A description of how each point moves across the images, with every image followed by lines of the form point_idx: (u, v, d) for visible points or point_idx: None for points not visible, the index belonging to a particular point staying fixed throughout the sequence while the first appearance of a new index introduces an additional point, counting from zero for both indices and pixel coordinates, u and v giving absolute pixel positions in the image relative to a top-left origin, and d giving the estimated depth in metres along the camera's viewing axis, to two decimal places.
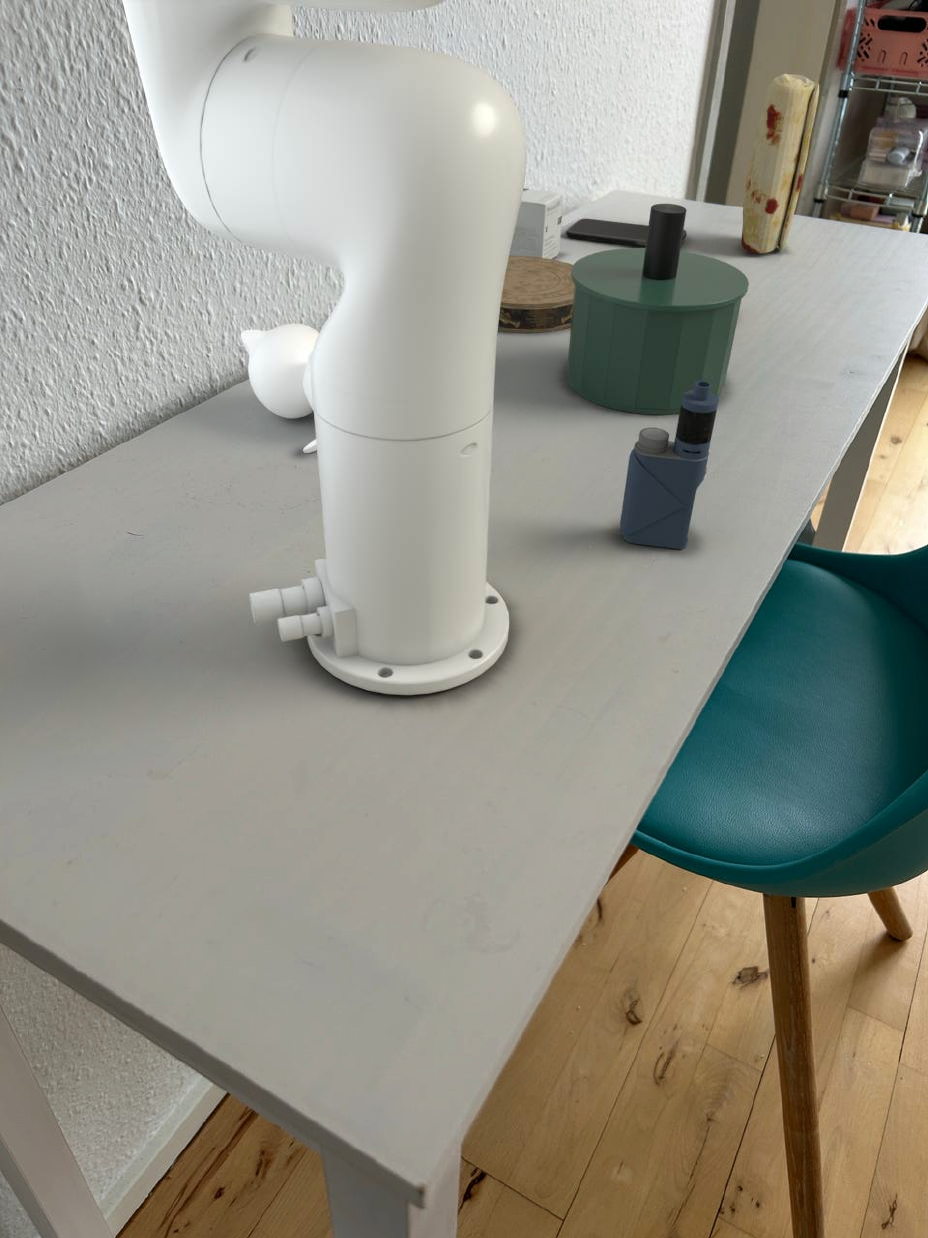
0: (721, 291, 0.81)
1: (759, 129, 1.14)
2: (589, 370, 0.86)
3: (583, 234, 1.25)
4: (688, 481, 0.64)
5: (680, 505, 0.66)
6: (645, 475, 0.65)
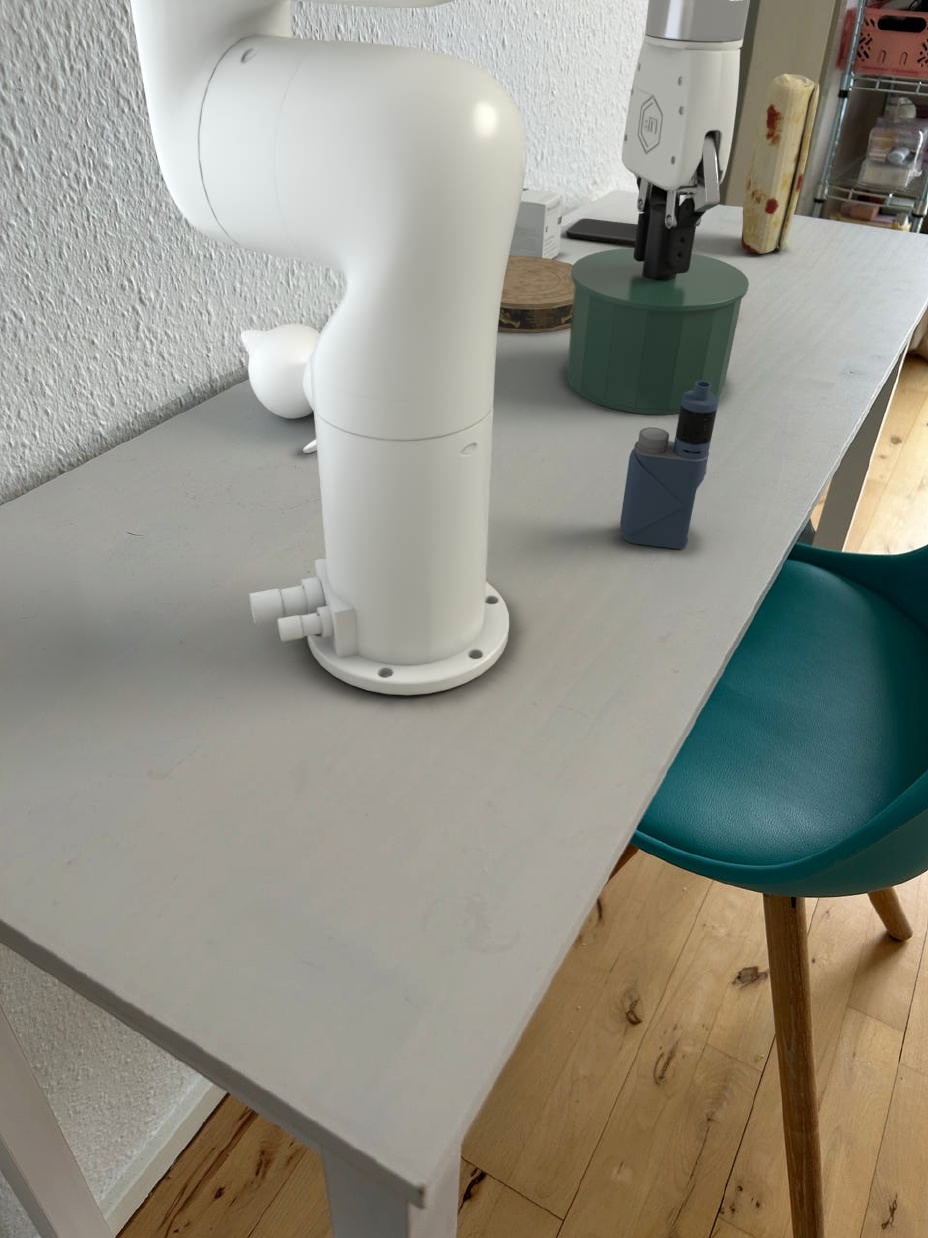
0: (721, 291, 0.81)
1: (759, 129, 1.14)
2: (589, 370, 0.86)
3: (583, 234, 1.25)
4: (688, 481, 0.64)
5: (680, 505, 0.66)
6: (645, 475, 0.65)
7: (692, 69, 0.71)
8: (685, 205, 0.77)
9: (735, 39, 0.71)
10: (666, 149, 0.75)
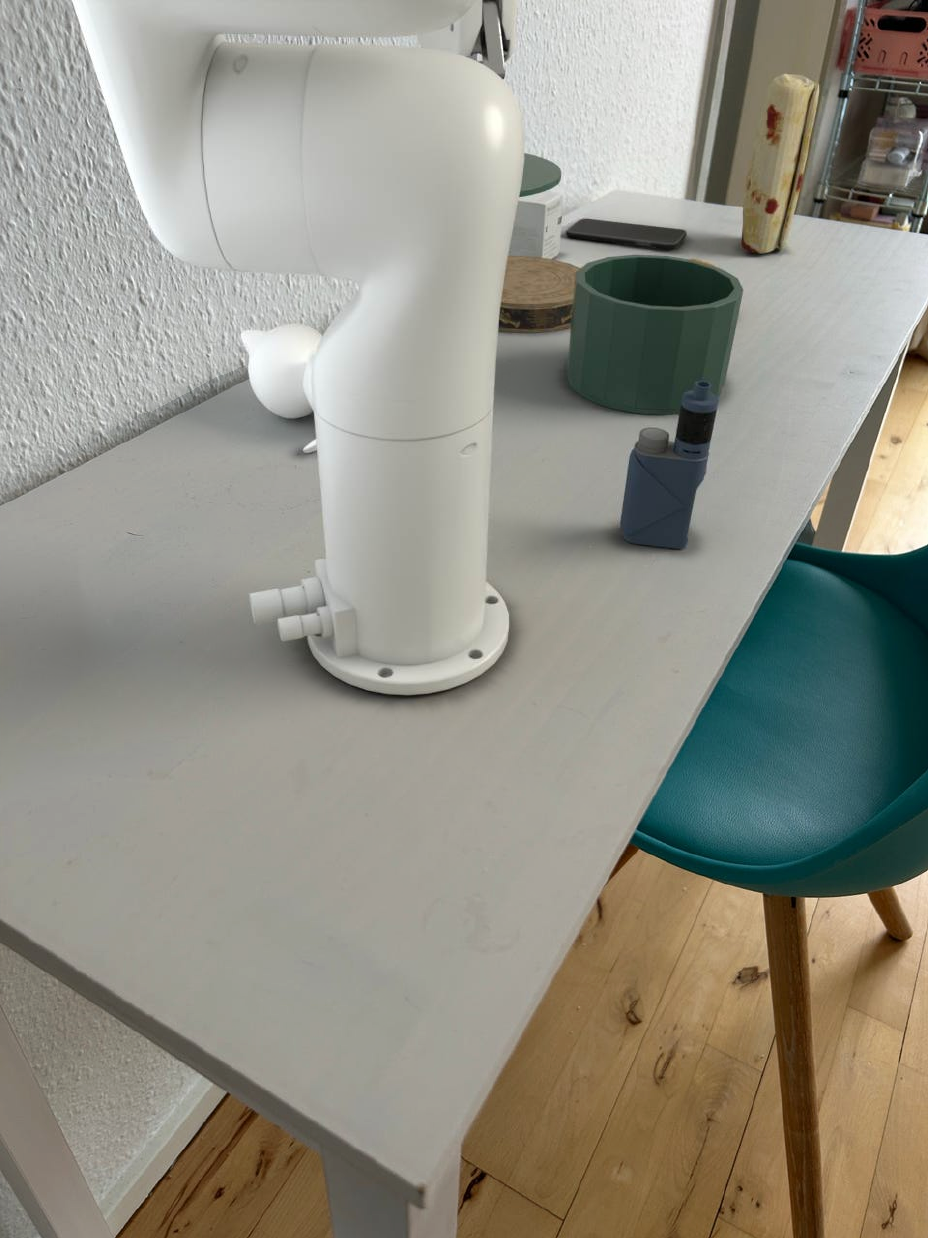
0: (525, 182, 0.74)
1: (759, 129, 1.14)
2: (589, 370, 0.86)
3: (583, 234, 1.25)
4: (688, 481, 0.64)
5: (680, 505, 0.66)
6: (645, 475, 0.65)
7: None
8: None
9: None
10: None
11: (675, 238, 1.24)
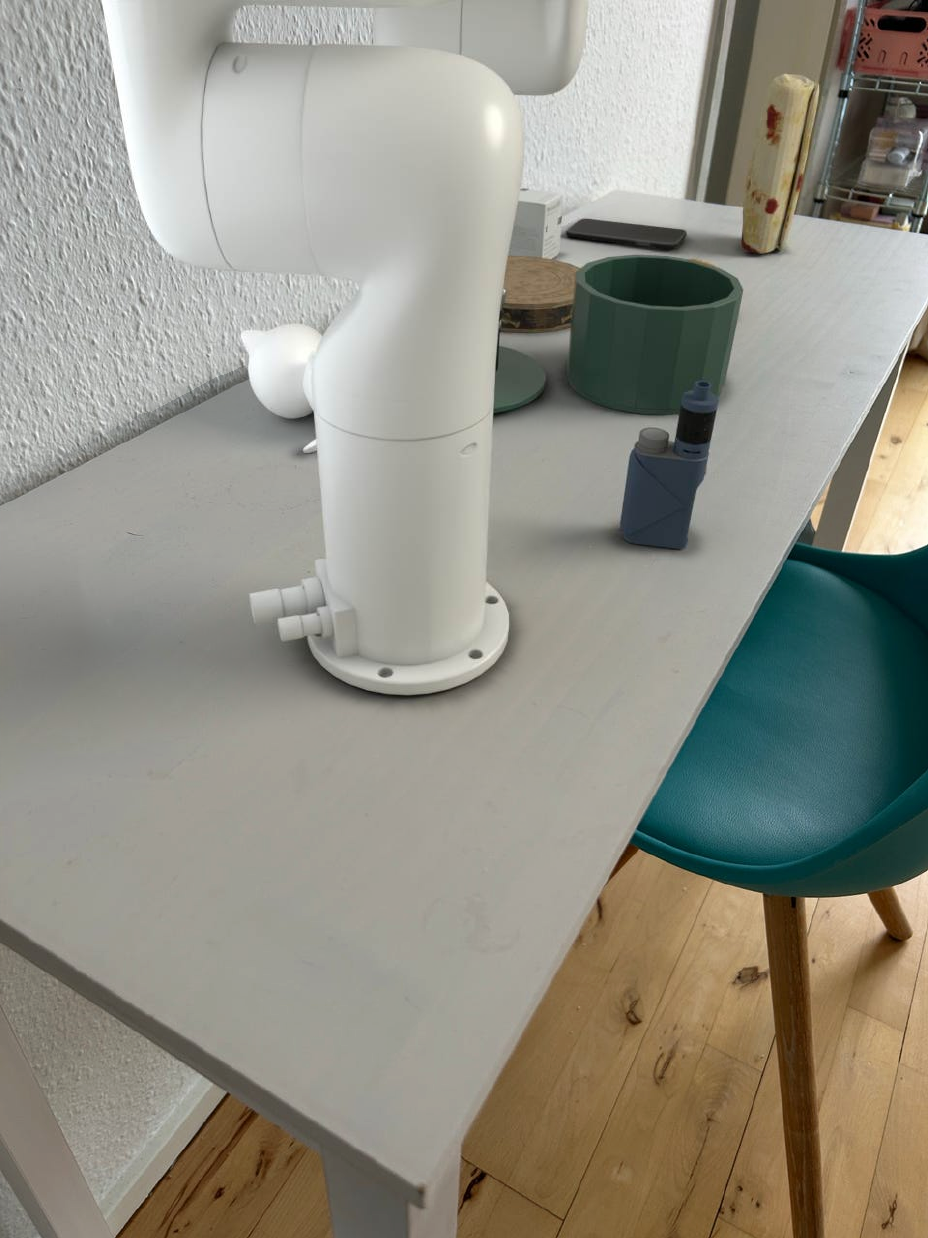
0: (514, 393, 0.85)
1: (759, 129, 1.14)
2: (589, 370, 0.86)
3: (583, 234, 1.25)
4: (688, 481, 0.64)
5: (680, 505, 0.66)
6: (645, 475, 0.65)
7: None
8: None
9: None
10: None
11: (675, 238, 1.24)
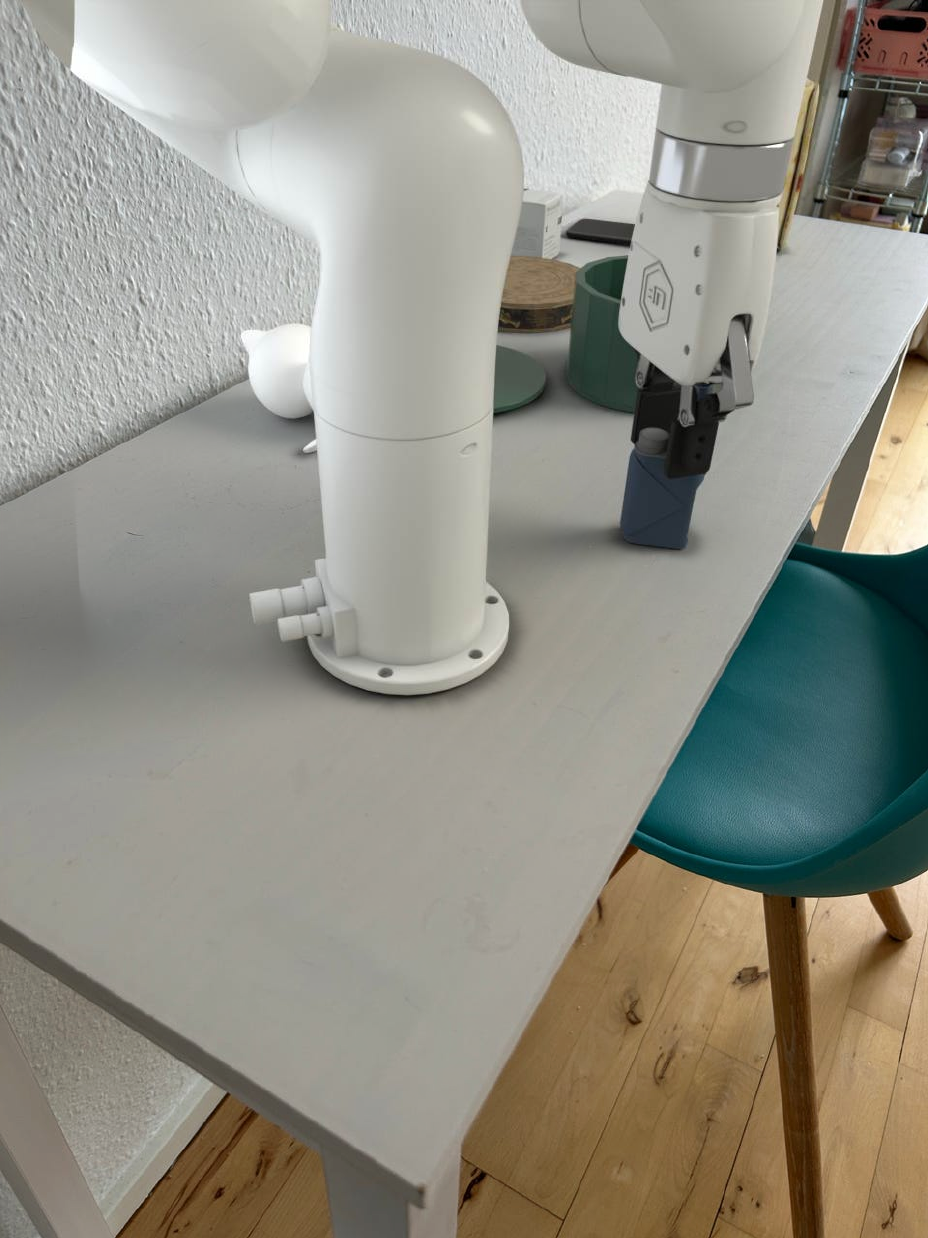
0: (514, 393, 0.85)
1: None
2: (589, 370, 0.86)
3: (583, 234, 1.25)
4: (688, 481, 0.64)
5: (680, 505, 0.66)
6: (645, 475, 0.65)
7: (714, 239, 0.52)
8: (707, 403, 0.57)
9: (773, 196, 0.52)
10: (678, 333, 0.56)
11: None
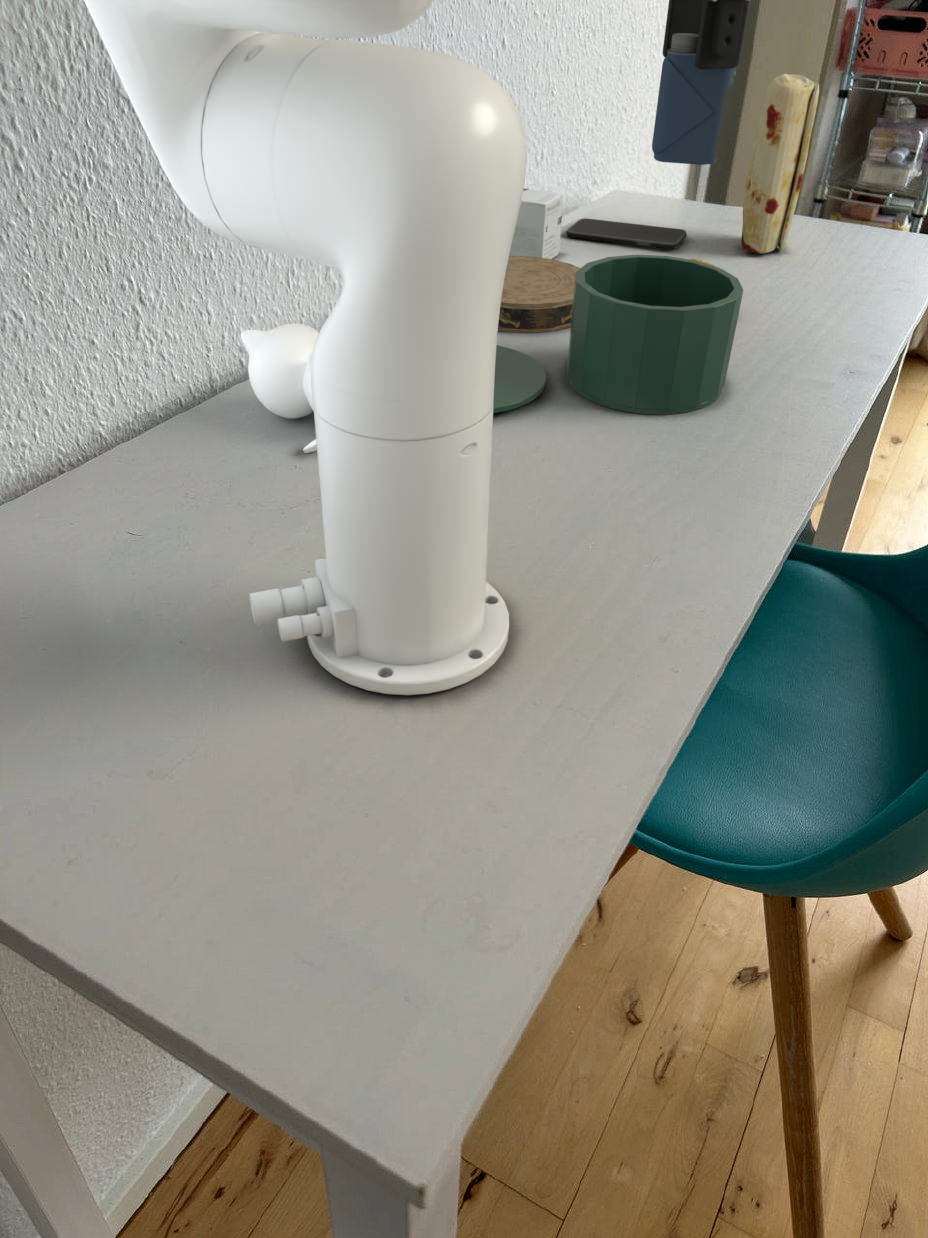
0: (514, 393, 0.85)
1: (759, 129, 1.14)
2: (589, 370, 0.86)
3: (583, 234, 1.25)
4: (718, 81, 0.68)
5: (710, 111, 0.69)
6: (677, 77, 0.68)
7: None
8: None
9: None
10: None
11: (675, 238, 1.24)
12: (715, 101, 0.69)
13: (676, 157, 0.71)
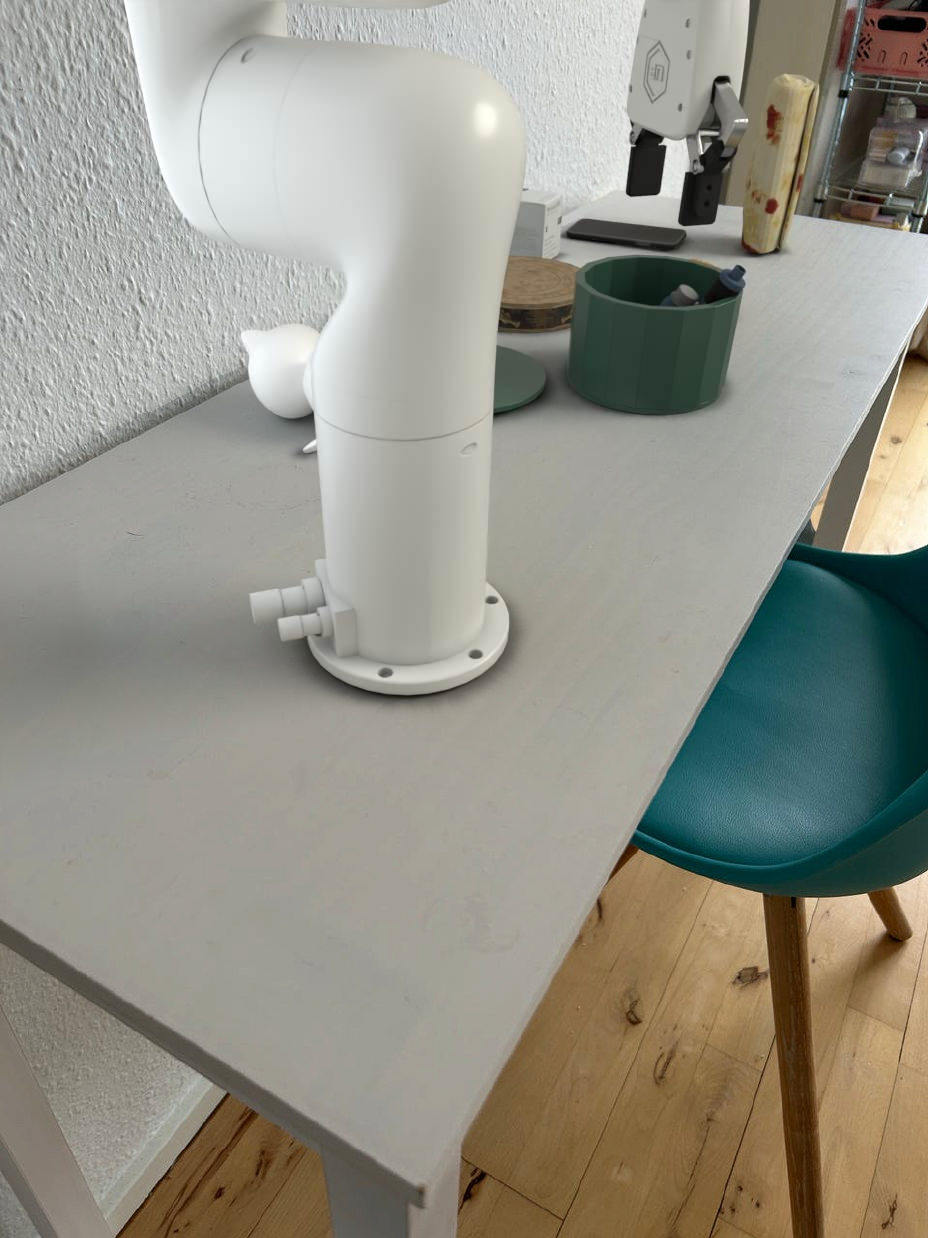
0: (514, 393, 0.85)
1: (759, 129, 1.14)
2: (589, 370, 0.86)
3: (583, 234, 1.25)
4: None
5: None
6: None
7: (700, 10, 0.68)
8: (713, 147, 0.72)
9: None
10: (673, 96, 0.73)
11: (675, 238, 1.24)
12: None
13: None
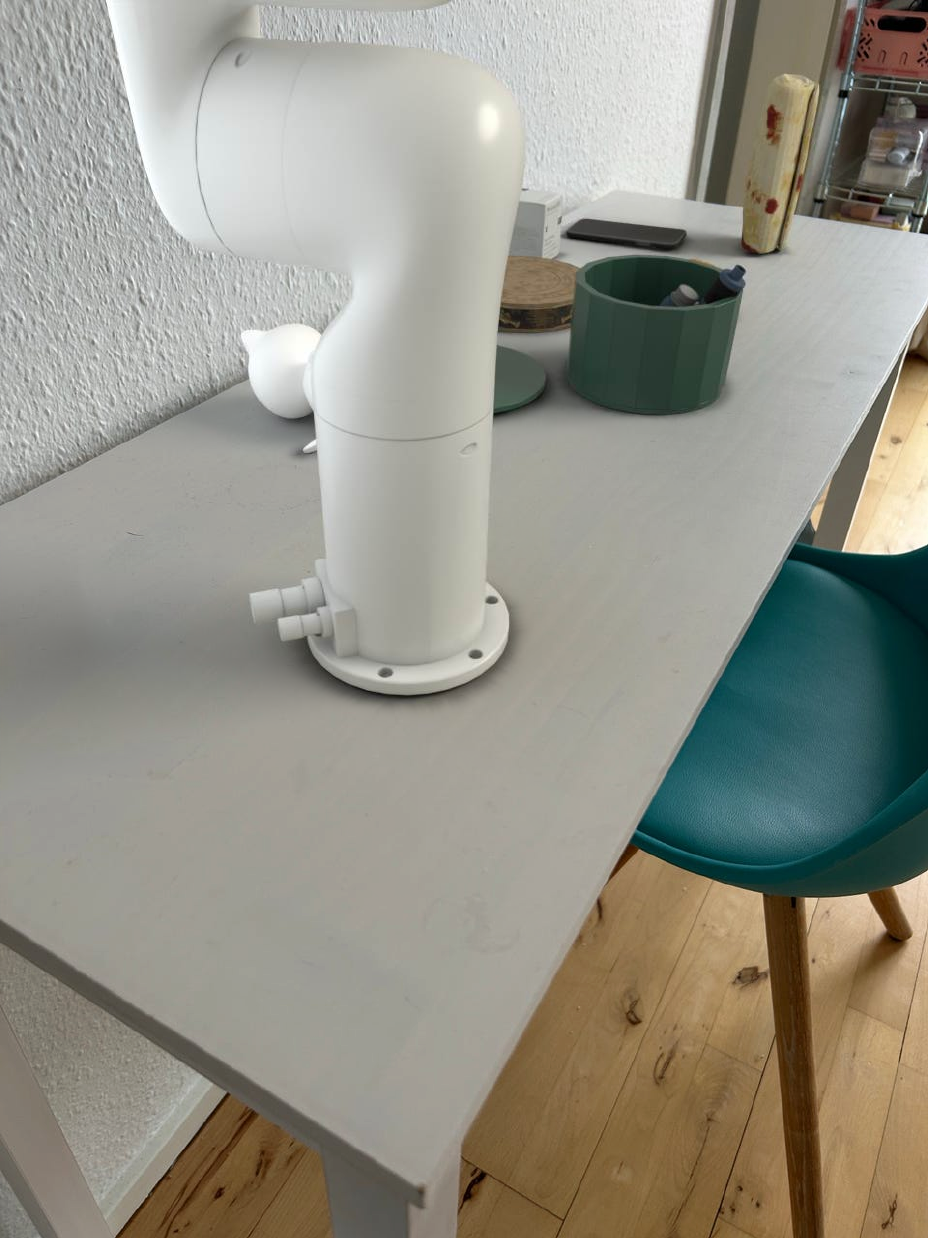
0: (514, 393, 0.85)
1: (759, 129, 1.14)
2: (589, 370, 0.86)
3: (583, 234, 1.25)
4: None
5: None
6: None
7: None
8: None
9: None
10: None
11: (675, 238, 1.24)
12: None
13: None
